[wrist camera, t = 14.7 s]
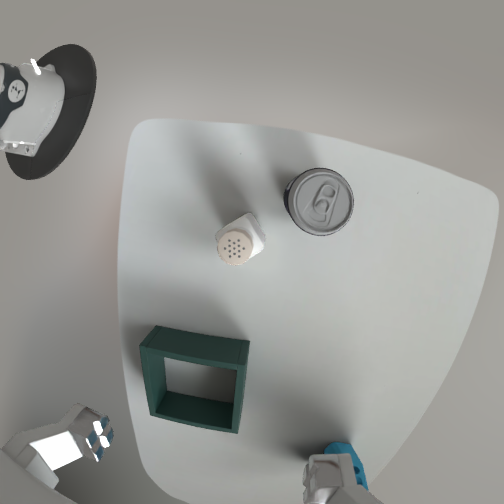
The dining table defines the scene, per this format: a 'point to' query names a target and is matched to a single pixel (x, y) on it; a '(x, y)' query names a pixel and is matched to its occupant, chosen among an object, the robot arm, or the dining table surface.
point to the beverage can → (319, 201)
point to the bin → (199, 352)
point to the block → (358, 467)
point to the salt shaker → (240, 240)
